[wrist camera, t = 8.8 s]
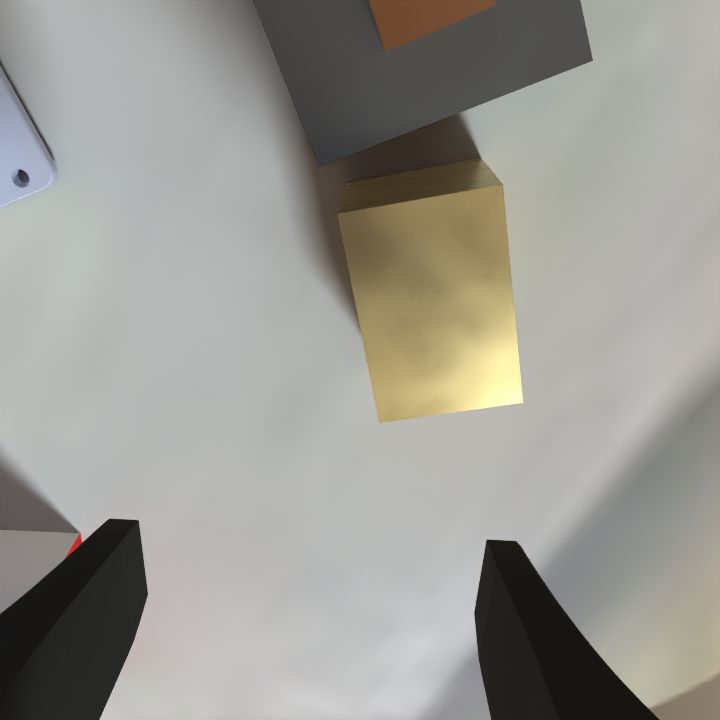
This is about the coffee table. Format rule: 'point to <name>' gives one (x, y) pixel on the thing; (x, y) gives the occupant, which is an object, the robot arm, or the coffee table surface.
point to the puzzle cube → (30, 559)
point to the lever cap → (433, 289)
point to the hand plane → (412, 60)
